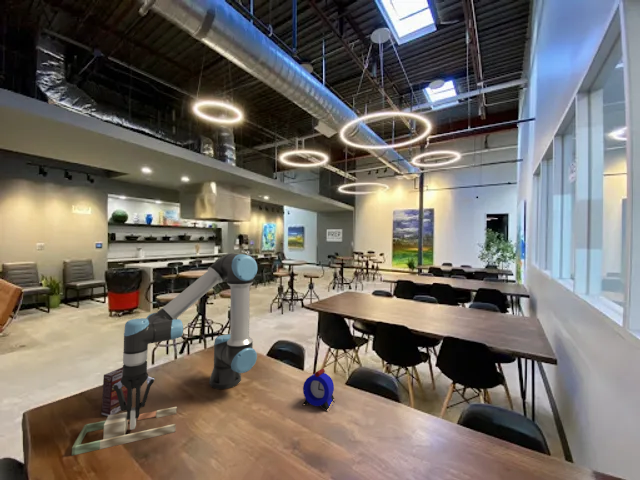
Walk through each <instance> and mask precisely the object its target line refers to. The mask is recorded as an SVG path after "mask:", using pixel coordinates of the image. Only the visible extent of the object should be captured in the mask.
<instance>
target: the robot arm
mask: <svg viewBox="0 0 640 480" xmlns="http://www.w3.org/2000/svg"><path fill="white" fill-rule="evenodd" d="M257 272H258V263H257V261H256V260H255V259H254V258H253V257H252V256H250V255H248V254H244V253H243V254H242V253H228V254H225V255H223V256H222V257H220V258H218V260H216V261H215V262H214V263H212V264H211V265H210V266H208V268H207V271H206V272H204V273H203V274H202V275H201V276H199V278H197V279H196V280H194V281H193V282H192V283H191V284H190V285H189V286H187V287H186V288H185V289H184V290H183V291H182V292H180V293H179V294H178V295H177V296H175V297H174V298H173V299H172V300H169V302H168V303H167V304H165V305H164V306H162V308H160V309H159V310H158V311H156V312H152V313H150V314H148V315H147V317H145V318H144V317H141V318H133V319H130V320H127V321H126V322H125V324H124V331H123V352H122V353H123V355H122V356H123V357H122V364H123V365H122V367H123V376H122V378H121V381H119V382H118V383H115V384H114V386H113V389H114V390H115V391H116V393H117V397H118V400H119V404H120V408H121V410H120V411H122V412H124V411H125V412H127V420H129V421H130V424H129V430H131V431H132V430H135V429H136V426H137V419H138V417H139V414H141V413H140V411H141V408H144V407H145V405H146V403H147V399H148V396H149V393H150V390H151V387H152V385H153V384H154V382H155V377H154V376H152V377H151V376H149V374H148V350H149V349H148V348H149V345H150V344H154V343H160V342H161V343H162V342H165V341H167V342H168V341H173V340H176V339H179V338H181V337H182V335H183V333H184V324H183V321H182V320H181V319H180V318H179V317H181V315H182V314H184V313H185V312H186V311H187V310H188V309H189V308H190V307H192V306H193V305H194V304H195V303H196V302H198V301H199V300H200V299H201V298H202V297H204V295H205V294H207V293H209V291H211V290H212V289H213V288H214V287H215V286H217V284H220V283H221V284H222V283H223V282H224V281H226V284H227V285H228V286H229V287H230V331H229V334H222V335H218V336H216V337H215V338H214V344H213V349H214V350H213V368H212V370H211V371H212V372H211V373H210V377H209V382H208V383H209V384H210V385H209V386H210V387H211V388H212V387H213V388H212V389H215V388H216V389H217V390H226V388H227V389H231V388H234V387H236V386H238V385H239V384H240V383H241V382H240V381H242V374H244V373H247V372H249V371H250V370H251V369H253V366H255V364H256V363H257V359H258V353H257V351H256V350H255V349H254V348H253V345H254V344H253V342H254V341H253V338H252V337H251V336H250V291H251V290H250V287H251V285H253V283H254V278H255V276H256V275H257ZM145 382H146V388H145V392H144V395H143V397H142V401H141V391H142V390H141V388H142V386H143V385H144V383H145ZM239 382H240V383H239ZM238 383H239V384H238ZM122 384H123V385H124V386H125V387H126V388H127V393H128V394H127V405H126V402H125V398H124V395H123V391H122V388H121V387H122ZM237 384H238V385H237ZM235 385H236V386H235ZM233 386H234V387H233ZM230 387H231V388H230ZM134 389H135V404H134V405H135V406H134V407H133V390H134Z"/></svg>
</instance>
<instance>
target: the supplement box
mask: <svg viewBox="0 0 640 480" xmlns="http://www.w3.org/2000/svg"><path fill="white" fill-rule="evenodd" d="M122 376H123V366H122V367H120V368H117V369H114V370H112V371H110V372H108V373H105V374H103V382H102V383H103V384H102V399H101V415H102V416H106V417H108V415H113V414H118V413H120V411H121V408H120V404H119V400H118V397H117V393H116V391H115V390H114V389H113V386H114V384H115V383H118V382H119V381H121V378H122ZM121 388H122V391H123V395H124V398H125V402H126V405H127V394H128V393H127V388H126V387H125V386H124V385H123V384H122V387H121Z"/></svg>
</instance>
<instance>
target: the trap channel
mask: <svg viewBox="0 0 640 480" xmlns="http://www.w3.org/2000/svg"><path fill="white" fill-rule="evenodd" d="M177 408H178V407H177V406H172V407H169V408H162V409H158V410H154V411H153V410H152V411H150V412H148V411H147V412H143V413H140V414H139V417H138V418H137V419H136V422H137V421H142V420H147V419H153V418H156V419H159V418H162V417H168V416H173V415H177ZM105 422H106V420H100V421H97V422H91V423H86V424H84V426H83V428H82V429H81V431H80V433H79V434H78V436H77V438H76V439H75V441H74V443H73V445H72V447H71V456H76V455H80V454H84V453H85V454H86V453H89V452H93V451H97V450H103V449H107V448H111V447H116V446H119V445H125V444H129V443H132V442H138V441H141V440H147V439H150V438H155V437H158V436H165V435H168V434H172V433H175V432H176V423H173V424H168V425H164V426H161V427H160V426H159V427H155V428H150V429H147V430H146V429H145V430H142V431H141V430H140V431H136V432H132V433H128V434H125V435H122V436H117V437H113V438H108V439H104V440H103V439H99V440H95V441H91V442H86V443H83V440H84V438H85V436H86V435H87V433H90V432H95V431H100V430H104V424H105ZM128 424H129V425H130V420H128Z"/></svg>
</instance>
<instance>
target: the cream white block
mask: <svg viewBox="0 0 640 480" xmlns="http://www.w3.org/2000/svg"><path fill="white" fill-rule="evenodd" d="M106 417H107V418H106V419H105V421H106V422H105V424H104V429H103V439H102V440H104V439H108V438H113V437H117V436H122V435H127V434H126V433H127V430H128V424H129V422H128V420H127V411H125V412H124V411H123V412H118V413H115V414H113V415H108V416H106Z"/></svg>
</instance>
